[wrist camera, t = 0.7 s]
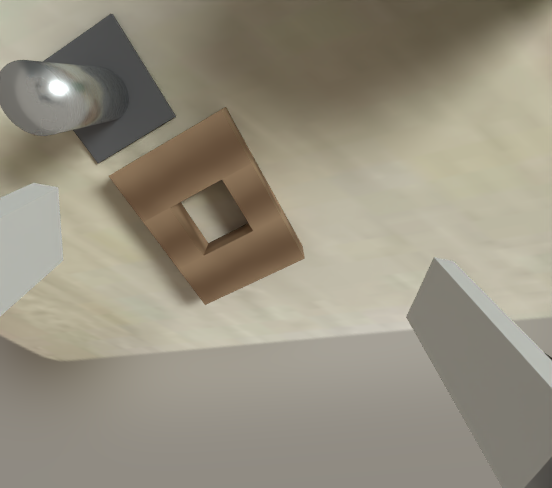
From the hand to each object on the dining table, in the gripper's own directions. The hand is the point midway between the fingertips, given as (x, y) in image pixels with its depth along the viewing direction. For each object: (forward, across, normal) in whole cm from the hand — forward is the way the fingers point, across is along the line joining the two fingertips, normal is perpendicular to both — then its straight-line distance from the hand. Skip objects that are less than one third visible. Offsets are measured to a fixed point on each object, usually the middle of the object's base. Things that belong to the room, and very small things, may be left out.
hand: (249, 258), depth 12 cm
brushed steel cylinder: (+23, -15, +1) cm, 27 cm away
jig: (+23, -4, -8) cm, 24 cm away
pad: (+23, -15, +1) cm, 28 cm away
